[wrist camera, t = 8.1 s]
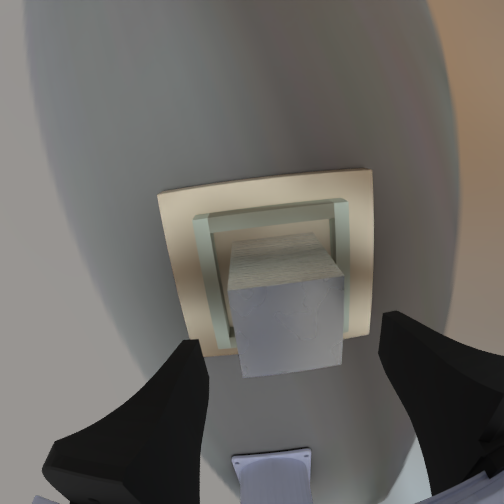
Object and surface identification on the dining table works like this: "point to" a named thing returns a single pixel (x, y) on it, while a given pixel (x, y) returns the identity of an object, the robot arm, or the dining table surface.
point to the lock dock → (262, 226)
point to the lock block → (285, 305)
